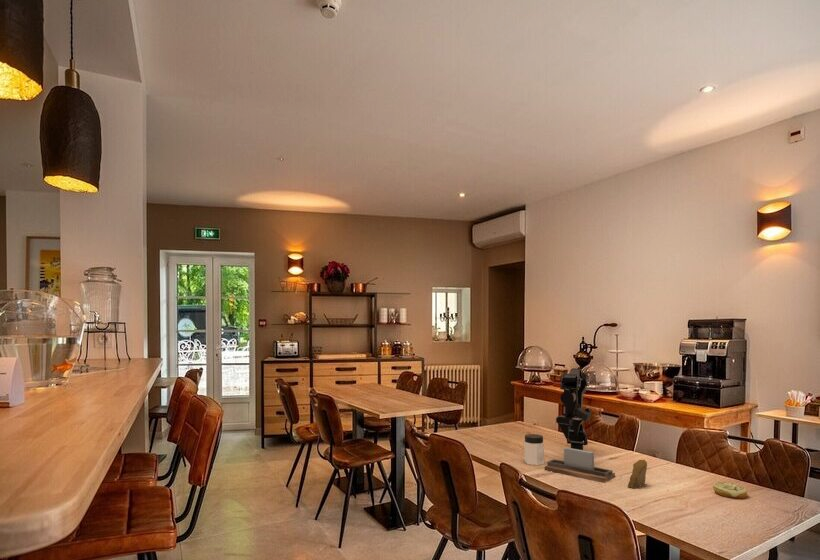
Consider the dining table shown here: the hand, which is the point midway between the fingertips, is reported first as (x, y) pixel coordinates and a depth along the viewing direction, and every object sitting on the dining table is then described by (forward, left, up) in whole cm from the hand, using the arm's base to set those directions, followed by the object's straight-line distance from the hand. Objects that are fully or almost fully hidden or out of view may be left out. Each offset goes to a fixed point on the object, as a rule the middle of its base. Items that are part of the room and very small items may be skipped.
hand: (571, 437), depth 234 cm
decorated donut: (-1, +61, -12) cm, 62 cm away
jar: (+9, -14, -12) cm, 21 cm away
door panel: (+11, +8, -10) cm, 17 cm away
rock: (+11, +31, -12) cm, 35 cm away
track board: (+11, +8, -12) cm, 18 cm away
